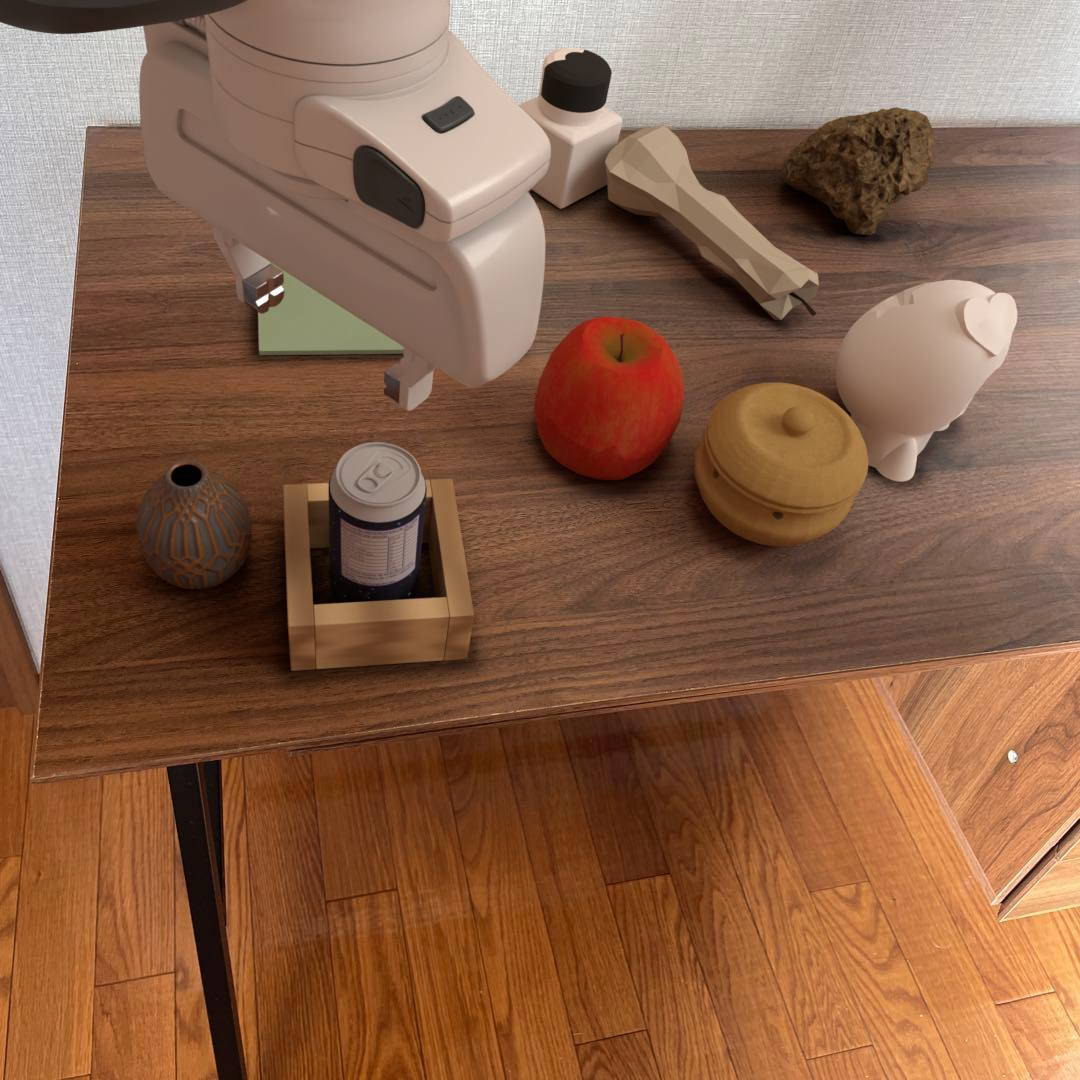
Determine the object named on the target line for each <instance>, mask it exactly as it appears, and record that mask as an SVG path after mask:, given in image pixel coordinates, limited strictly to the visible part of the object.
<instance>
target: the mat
mask: <svg viewBox="0 0 1080 1080" xmlns="http://www.w3.org/2000/svg"><path fill="white" fill-rule="evenodd" d="M271 264H272V265H274V264H273V263H271ZM274 266H275V267H277V266H276V265H274ZM277 268H278V269H279V270H281V271H282V272H283V277H284V283H283V284H282V286H283V289H284V298H283V300H282V301H281V303H280V304H278V305H277V306H275V307H270V308H269V311H268V312H266V313H263V314H261V313H259V312H258V311H257V333H258V335H257V336H258V339H257V340H258V341H257V342H258V356H316V355H317V356H322V355H323V356H324V355H325V356H328V355H329V356H330V355H333V356H334V355H337V356H338V355H403V349H404V347H403V346H402V345H400V344H399V343H397V342H395V341H394V340H392V339H391V338H389V337H388V336H386V335H384V334H383V333H381V332H380V331H378V330H377V329H375V328H373V327H372V326H370V325H369V324H367V323H365V322H364V321H362V320H361V319H359V318H358V317H356V316H354V315H353V314H351V313H350V312H348V311H347V310H345V309H343V308H342V307H340V306H339V305H337V304H336V303H334V302H332V301H331V300H329V299H328V298H326V297H325V296H323V295H321V294H320V293H318V292H317V291H315V290H314V289H312V288H310V287H309V286H307V285H306V284H304V283H303V282H301V281H299V280H298V279H296V278H295V277H293V276H292V275H290V274H288V273H287V272H285V271H284V270H282V269H280V268H279V267H277Z"/></svg>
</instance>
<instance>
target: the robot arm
mask: <svg viewBox="0 0 1080 1080" xmlns="http://www.w3.org/2000/svg"><path fill="white" fill-rule="evenodd" d="M450 18H451V0H0V23H2V24H4V25H7V26H11V27H14V28H18V29H20V30H25V31H30V32H36V33H42V34H51V35H52V34H53V35H81V34H91V33H100V32H108V31H116V30H117V31H118V30H125V29H132V28H139V27H143V33H144V39H145V47H146V48H145V49H146V53H145V55H144V57H143V58H142V61H141V64H140V70H139V85H138V87H139V88H138V89H139V90H138V91H139V92H138V93H139V98H138V99H139V122H140V135H141V145H142V155H143V161H144V165H145V168H146V169H147V172H148V173H149V175H150V177H151V179H152V181H153V183H154V184H155V186H156V188H157V189H158V191H159V192H160V193H161V194H162V195H164V196H165V197H167V198H169V199H170V200H172V201H173V202H175V203H177V204H178V205H180V206H182V208H185V209H186V210H188V211H189V212H190V213H192V214H194V215H195V216H197V217H199V219H202V220H203V221H205V222H207V223H208V224H210V225H211V234H212V237H213V239H214V241H215V242H216V244H217V246H218V248H219V250H220V252H221V254H222V256H223V257H224V259H225V261H226V263H227V265H228V267H229V269H230V271H231V272H232V273H233V274H234V280H235V292H236V298H237V299H238V301H240V302H242V303H243V304H245V305H246V306H249V307H250V308H252V309H253V310H254V311H256V312H257V313H258V312H259V313H261V314H263V313H266V312H268V311H269V308H270V307H275V306H277V305H278V304H280V303H281V301H282V300H283V298H284V289H283V286H282V284H283V283H284V277H283V272H282V271H281V270H279V269H278V268H277V267H279V268H280V269H282V270H284V271H285V272H287V273H288V274H290V275H292V276H293V277H295V278H296V279H298V280H299V281H301V282H303V283H304V284H306V285H307V286H309V287H310V288H312V289H314V290H315V291H317V292H318V293H320V294H321V295H323V296H325V297H326V298H328V299H329V300H331V301H332V302H334V303H336V304H337V305H339V306H340V307H342V308H343V309H345V310H347V311H348V312H350V313H351V314H353V315H354V316H356V317H358V318H359V319H361V320H362V321H364V322H365V323H367V324H369V325H370V326H372V327H373V328H375V329H377V330H378V331H380V332H381V333H383V334H384V335H386V336H388V337H389V338H391V339H392V340H394V341H395V342H397V343H399V344H400V345H402V346H403V347H404V349H403V354H402V355H403V357H401V358H400V360H399V363H393V364H392V365H391V366H389V367H388V368H387V369H386V370H384V372H383V374H384V375H383V383H384V385H385V387H383V394H384V396H386V397H387V398H389V400H391V401H392V402H394V403H395V404H397V405H398V406H400V407H402V408H403V409H405V410H406V411H408V412H410V411H411V412H412V411H413V410H415V409H416V408H417V407H418V406H420V405H421V404H423V402H425V401H426V400H427V399H428V398H429V396H430V394H431V393H432V390H433V381H434V372H435V370H436V369H438V370H439V371H441V372H443V373H444V374H446V375H447V376H449V377H450V378H451V379H453V380H455V381H456V382H458V383H459V384H460V385H463V386H465V387H467V388H471V389H475V388H478V387H481V386H483V385H486V384H488V383H490V382H492V381H494V380H495V379H497V378H500V377H501V376H502V375H504V374H505V373H506V372H507V371H508V370H510V369H511V368H512V367H514V366H515V365H516V364H517V363H518V362H519V361H520V360H521V359H522V358H524V356H525V355H526V354H527V353H528V351H529V350H530V349H531V347H532V345H534V344H533V343H534V341H535V338H536V336H537V330H538V326H539V320H540V314H541V308H542V299H543V293H544V292H543V291H544V282H545V270H546V269H545V267H546V231H545V226H544V225H545V224H544V221H543V217H542V215H541V212H540V209H539V206H538V204H537V202H535V199H534V198H533V197H532V195H531V194H530V191H532V190H531V189H532V188H533V187H534V186H535V185H536V184H537V183H538V182H539V181H540V180H541V179H542V178H543V177H544V176H545V174H546V173H547V170H548V167H549V163H550V156H551V145H550V141H549V139H548V137H547V135H546V133H545V132H544V131H543V129H542V128H541V127H540V126H539V125H538V124H537V123H536V122H535V121H534V120H533V119H532V118H531V117H530V116H529V115H528V114H527V113H526V112H525V111H524V110H523V109H522V108H521V107H520V106H519V105H520V104H518V103H517V102H516V101H515V100H514V99H512V97H511V96H510V95H508V93H507V92H505V90H504V89H503V88H502V87H501V86H500V85H499V84H498V83H497V82H496V81H495V80H494V79H493V78H492V77H491V76H490V75H489V73H487V72H486V70H485V69H484V68H483V67H482V66H481V65H480V63H478V61H477V59H475V58H474V56H473V55H472V54H471V52H470V51H469V50H468V48H467V47H466V46H465V44H463V42H462V40H460V39H459V37H458V36H456V34H455V33H453V32H452V31H450V22H451V19H450ZM271 263H273V264H274V265H276V266H277V267H275V266H274V265H272V264H271Z"/></svg>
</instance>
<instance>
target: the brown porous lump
mask: <svg viewBox="0 0 1080 1080" xmlns="http://www.w3.org/2000/svg"><path fill="white" fill-rule="evenodd" d="M934 134H935V133H934V128H933V127H932V125H931V122H930V120H929V118H928V116H927V115H926V114H924V113H921V112H920V111H919V110H911V109H908V108H901V107H891V108H889V109H886V108H880V109H879V110H878V111H874V110H873V111H871V112H868V113H863V114H855V115H846V116H840V117H838V118H835V119H833V120H831V121H827V122H825V123H824V124H823V125H822V126H820V127H819V128H817V130H816V131H815V132H813V133H812V134H810V135H809V136H807V138H805V139H803V140H802V141H800V143H799V144H798V145H797V146H795V147H793V148H792V149H791V150H790V152H789V153H788V155H787V156H786V157H785V158H784V160H783V162H782V164H781V167H782V169H781V173H782V174H783V176H784V179H785V183H786V184H787V185H789V186H790V187H792V188H793V189H794V190H796V191H797V192H798V191H800V192H803V193H804V192H805V193H806V194H807V195H808V196H811V197H812V198H815V199H817V200H818V201H819V202H821V203H822V204H824V205H826V206H828V208H829V210H830V212H831V214H832V215H833V216H834V217H836V219H838V220H839V219H840V220H843V221H844V222H845V224H846V227H847V230H848V231H850V232H851V233H852V234H854V235H863V236H872V235H874V234H875V233H876V230H877V226H878V223H882V221H884V220H885V219H886V218H888V215H889V212H890V210H891V206H892V204H896V203H899V202H900V201H902V200H903V199H904V198H905V196H909V194H911V193H914V192H917V191H919V190H921V189H922V188H923V187H924V186H925V184H927V182H928V180H929V175H928V174H927V173H928V171H930V169H931V167H933V166H934V164H935V160H934V157H933V154H932V148H933V147H934V145H935V140H934Z"/></svg>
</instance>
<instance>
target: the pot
mask: <svg viewBox="0 0 1080 1080" xmlns="http://www.w3.org/2000/svg"><path fill="white" fill-rule="evenodd" d="M703 433H704V434H703V436H702V437H701V438H700V440H699V442H698V443H697V446H696V450H695V453H694V456H693V469H694V479H695V481H696V484H697V485H696V486H697V488H698V490H699V493H700V496H701V498H702V500H703V502H704V503H705V505H706V507H707V509H708V510H709V512H710V513H711V515H712V516H713V517H714V518H715V519H716V520H717V521H718V522H719V523H720V524H721V525H722V526H723V527H725V528H726V529H727V530H729V531H731V533H733V534H734V535H737V536H739V537H741V538H743V539H745V540H747V541H750V542H753V543H756V544H759V545H763V546H770V547H791V546H797V545H800V544H805V543H809V542H812V541H815V540H817V539H819V538H821V537H823V536H825V535H827V534H828V533H830V532H832V531H833V530H835V529H836V528H837V527H838V526H839V525H840V524H841V523H842V522H843V521H844V520H845V519H846V518H847V516H848V514H849V512H850V510H851V507H852V505H853V503H854V502H853V501H854V498H855V497H856V496H857V495H858V494H859V493H860V491H861V488H862V486H863V485H864V482H865V480H866V477H867V475H868V472H869V465H868V463H869V460H868V454H867V448H866V445H865V442H864V440H863V438H862V435H861V433H860V431H859V429H858V427H857V426H856V424H855V423H854V422H853V421H852V419H851V418H850V415H849V414H848V413H847V412H846V411H845V410H844V409H843V408H841V406H840V405H839V404H837V403H836V402H834V401H833V400H832V399H830V398H828V397H827V396H826V395H824V394H822V393H820V392H818V391H816V390H813V389H812V388H809V387H806V386H801V385H798V384H795V383H787V382H782V381H781V382H780V381H779V382H777V381H775V382H760V383H755V384H750V385H747V386H744V387H741V388H739V389H737V390H735V391H733V392H730V393H729V394H727V395H726V396H725V397H723V398H722V399H721V400H720V401H719V402H717V404H716V405H715V407H714V408H713V410H712V411H711V412H710V414H709V417H708V418H707V421H706V425H705V427H704V432H703Z"/></svg>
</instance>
